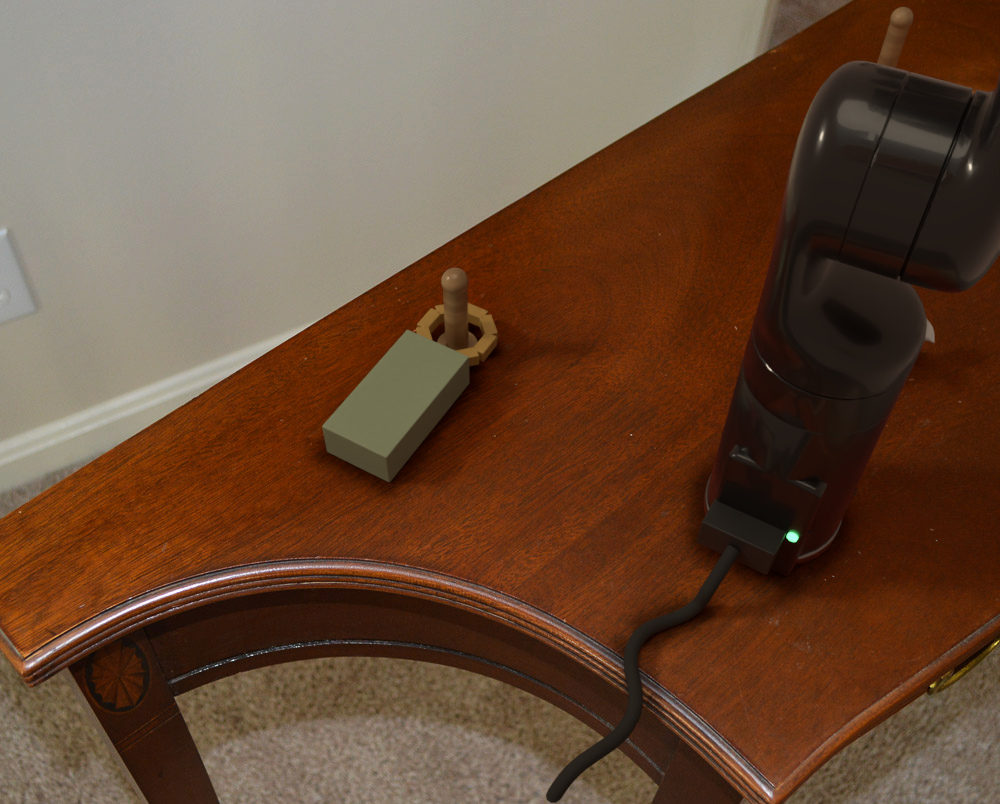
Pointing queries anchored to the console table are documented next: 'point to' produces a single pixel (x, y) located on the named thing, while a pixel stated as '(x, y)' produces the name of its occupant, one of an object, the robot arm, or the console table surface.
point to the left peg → (456, 311)
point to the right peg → (895, 36)
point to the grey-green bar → (405, 396)
